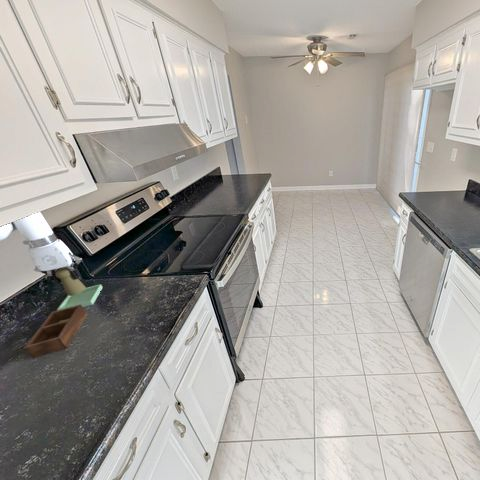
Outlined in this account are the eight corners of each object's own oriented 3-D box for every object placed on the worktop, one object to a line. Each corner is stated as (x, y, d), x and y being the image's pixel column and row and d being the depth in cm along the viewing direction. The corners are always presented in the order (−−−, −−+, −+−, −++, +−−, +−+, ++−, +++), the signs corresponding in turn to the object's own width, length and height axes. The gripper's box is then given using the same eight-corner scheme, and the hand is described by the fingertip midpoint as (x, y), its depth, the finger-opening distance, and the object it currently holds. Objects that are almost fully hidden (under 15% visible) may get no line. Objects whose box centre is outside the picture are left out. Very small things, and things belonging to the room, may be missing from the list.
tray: (59, 313, 101) (56, 309, 100) (72, 294, 111) (70, 291, 110) (92, 304, 104) (90, 301, 103) (102, 287, 114) (100, 284, 113)
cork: (84, 291, 105) (70, 269, 99) (66, 297, 102) (50, 275, 96) (86, 284, 109) (73, 263, 104) (68, 290, 106) (53, 268, 101)
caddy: (33, 358, 82) (23, 348, 80) (58, 321, 97) (51, 311, 94) (67, 348, 85) (59, 338, 83) (87, 313, 99) (81, 304, 97)
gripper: (6, 250, 88) (37, 291, 97) (66, 239, 93) (90, 278, 102) (19, 241, 94) (47, 280, 103) (75, 231, 100) (97, 269, 108)
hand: (68, 279), depth 102 cm, fingers closed on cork, 5 cm apart
